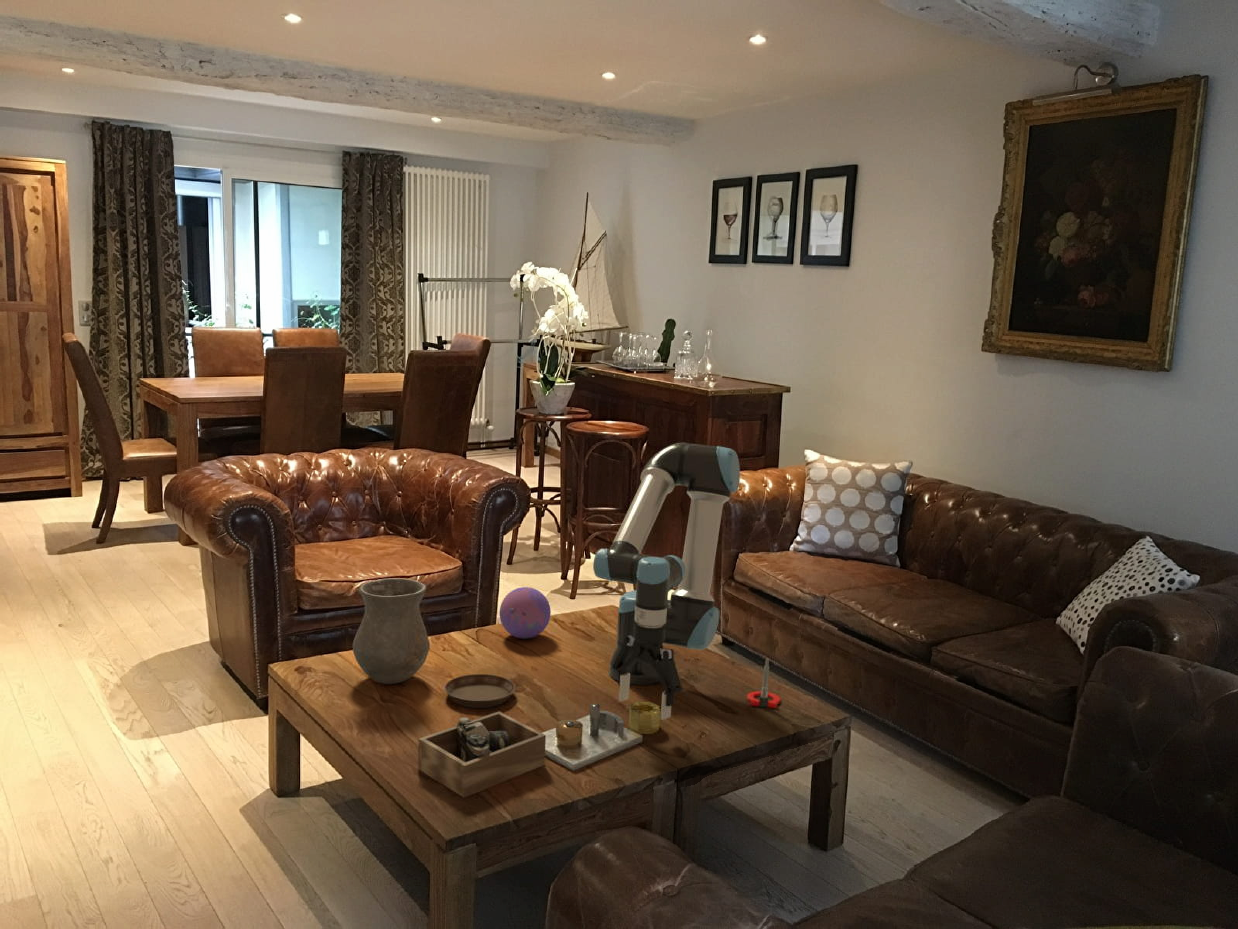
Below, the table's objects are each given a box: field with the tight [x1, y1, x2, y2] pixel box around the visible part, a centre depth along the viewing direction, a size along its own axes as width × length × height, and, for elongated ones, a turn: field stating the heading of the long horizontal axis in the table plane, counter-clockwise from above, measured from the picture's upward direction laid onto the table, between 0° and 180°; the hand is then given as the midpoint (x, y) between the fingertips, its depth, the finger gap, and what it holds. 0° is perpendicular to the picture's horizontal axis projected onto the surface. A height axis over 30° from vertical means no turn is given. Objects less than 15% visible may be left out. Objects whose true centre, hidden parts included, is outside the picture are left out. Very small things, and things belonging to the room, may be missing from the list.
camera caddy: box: [417, 711, 546, 798], centre depth 221 cm, size 16×22×7 cm
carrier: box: [542, 703, 643, 771], centre depth 234 cm, size 16×22×8 cm
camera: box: [456, 716, 511, 762], centre depth 220 cm, size 16×10×10 cm, turn 25°
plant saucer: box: [444, 673, 516, 709], centre depth 258 cm, size 18×18×3 cm
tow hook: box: [746, 657, 781, 709], centre depth 264 cm, size 8×13×9 cm
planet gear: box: [628, 701, 661, 735], centre depth 244 cm, size 7×7×5 cm
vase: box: [352, 577, 431, 685], centre depth 263 cm, size 20×19×25 cm
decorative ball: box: [499, 586, 552, 640], centre depth 301 cm, size 15×15×15 cm
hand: (644, 709), depth 244 cm, fingers open, 13 cm apart
